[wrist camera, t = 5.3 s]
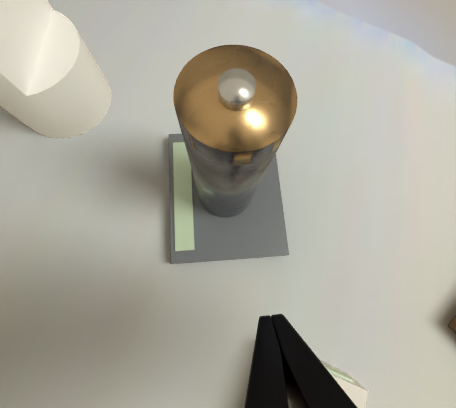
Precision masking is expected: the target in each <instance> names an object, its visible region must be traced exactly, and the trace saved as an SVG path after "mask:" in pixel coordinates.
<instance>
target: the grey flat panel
mask: <svg viewBox="0 0 456 408" xmlns="http://www.w3.org/2000/svg"><path fill="white" fill-rule="evenodd" d="M169 176H170V236H171V264H179V263H192V262H205V261H219V260H232V259H245V258H259V257H272V256H285V255H289V251H288V244H287V236H286V229H285V221H284V213H283V206H282V198H281V191H280V183H279V176H278V168H277V160H276V153H275V155H274V157H273V159H272V161H271V163H270V165H269V167H268V169H267V171H266V173H265V175H264V176H263V178H262V180H261V182H260V184H259V186H258V188H257V190H256V192H255V194H254V196H253V198H252V199H251V201H250V203H249V205H248V207H247V208H246V209H245V210H244V211H243V212H242V213H240V214H238V215H236V216H233V217H226V218H225V217H218V216H216V215H213V214H212V213H210V212H209V211H208V210H206V208H205V207H204V206H203V204H202V202H201V200H200V197H199V193H198V190H197V186H196V182H195V179H194V175H193V172H192V168H191V164H190V161H189V157H188V153H187V150H186V146H185V143H184V139H183V135H182V134H169Z"/></svg>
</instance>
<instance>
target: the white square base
mask: <svg viewBox="0 0 456 408" xmlns="http://www.w3.org/2000/svg"><path fill="white" fill-rule="evenodd" d="M321 363H322V364H323V365H324V366H325V368H326V369H327V370H328V371H329V373H330V374H331V375H332V376H333V378H334V379H335V380H336V381H337V383H338V384H339V385H340V386H341V388H342V389H343V390H344V391H345V393H346V394H347V395H348V396H349V398H350V399H351V400H352V401H353V402H354V404H355V405H356V406H357V407H358V408H365V406H366V402H367V397H368V393H369V391H367V390H366V389H365V388H364V387H363V386H361V385H360V384H359V383H358V382H357V381H355V380H354V379H353V378H352V377H351V376H349V375H348V374H347V373H345V372H343V371H340V370H338V369H336V368H334V367H331V366H329V365H327V364H325V363H323V362H321Z"/></svg>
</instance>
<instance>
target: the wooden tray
mask: <svg viewBox="0 0 456 408" xmlns="http://www.w3.org/2000/svg"><path fill="white" fill-rule="evenodd" d="M448 326H449V327H450V328H451V329H452V330H453V331H454V332H455V333H456V316H455V317H454V318H453V320H452V321H451V322H450V323H449V325H448Z"/></svg>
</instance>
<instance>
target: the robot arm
mask: <svg viewBox="0 0 456 408" xmlns="http://www.w3.org/2000/svg"><path fill="white" fill-rule="evenodd" d="M245 408H358V407H357V406H356V405H355V404H354V402H353V401H352V400H351V399H350V398H349V396H348V395H347V394H346V393H345V391H344V390H343V389H342V388H341V386H340V385H339V384H338V383H337V381H336V380H335V379H334V378H333V376H332V375H331V374H330V373H329V371H328V370H327V369H326V368H325V366H324V365H323V364H322V363H321V361H320V360H319V359H318V358H317V356H316V355H315V354H314V353H313V351H312V350H311V349H310V348H309V346H308V345H307V344H306V343H305V341H304V340H303V339H302V338H301V336H300V335H299V334H298V333H297V331H296V330H295V329H294V328H293V326H292V325H291V324H290V323H289V321H288V320H287V319H286V318H285V316H284V315H282V314H276V315H272V316H269V315H268V316H261V317H260V318H259V322H258V328H257V334H256V340H255V346H254V352H253V359H252V365H251V371H250V377H249V383H248V389H247V395H246V401H245Z"/></svg>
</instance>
